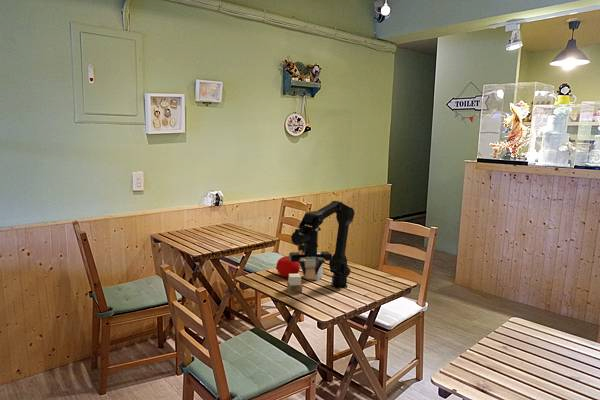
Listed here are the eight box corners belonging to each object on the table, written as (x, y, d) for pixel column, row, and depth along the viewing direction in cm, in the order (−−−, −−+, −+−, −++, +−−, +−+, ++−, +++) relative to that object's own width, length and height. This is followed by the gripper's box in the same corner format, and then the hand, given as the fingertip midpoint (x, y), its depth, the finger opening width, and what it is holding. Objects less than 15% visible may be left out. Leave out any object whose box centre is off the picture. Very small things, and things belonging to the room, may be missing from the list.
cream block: (298, 281, 200) (299, 273, 199) (300, 285, 195) (301, 276, 194) (288, 281, 199) (288, 273, 198) (290, 285, 194) (290, 277, 193)
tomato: (299, 279, 213) (300, 259, 212) (275, 278, 213) (276, 258, 212) (299, 272, 224) (300, 253, 223) (276, 271, 225) (277, 252, 223)
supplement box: (322, 276, 220) (324, 253, 218) (317, 280, 213) (318, 256, 211) (310, 274, 223) (311, 251, 221) (304, 278, 216) (305, 254, 214)
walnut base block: (299, 289, 201) (299, 281, 200) (301, 293, 195) (302, 285, 195) (287, 289, 200) (287, 281, 199) (289, 294, 194) (289, 285, 193)
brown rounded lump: (313, 275, 191) (314, 265, 191) (316, 278, 186) (316, 269, 186) (303, 275, 190) (303, 266, 189) (305, 279, 185) (306, 269, 185)
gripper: (326, 236, 196) (324, 268, 198) (287, 237, 191) (285, 270, 194) (333, 242, 185) (331, 276, 187) (292, 243, 181) (290, 278, 183)
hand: (309, 274), depth 188 cm, fingers closed on brown rounded lump, 5 cm apart
